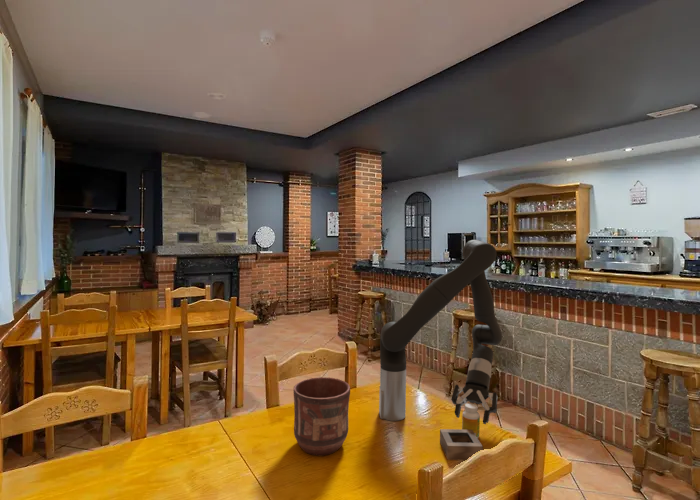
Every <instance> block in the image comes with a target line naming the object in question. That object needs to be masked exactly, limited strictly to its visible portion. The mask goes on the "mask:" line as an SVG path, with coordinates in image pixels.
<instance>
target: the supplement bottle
mask: <svg viewBox="0 0 700 500" xmlns="http://www.w3.org/2000/svg"><path fill="white" fill-rule="evenodd" d="M478 409H479V406H478V404H476V403H470V402H467V403H465V404H464V410H463V411H462V415H461V417H462V419H461V421H462V422H461V423H462V424H461V430H473V432H474V434H475V435H476V437H477V438H478V439H479V437H480V427H481V425H480V421H481V420H480V418H481V417H480V413H479V412H478Z"/></svg>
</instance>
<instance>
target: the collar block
mask: <svg viewBox="0 0 700 500" xmlns="http://www.w3.org/2000/svg"><path fill="white" fill-rule="evenodd" d="M439 444H440V445H441V447H442V450H443V452H444V454H445V456H446V459H447V460H449V461H454V460H456V461H458V460H459V461H467V460H466V459H468V458H469V457H471V456H472V455H473V454H475V453H476V452H478V451H480V450H484V449H483V444H482V443H481V442H480V440H479V437H478V438H477V437H476V435H475V434H474V432H473V430H462V429H459V428H458V429H457V428H455V429H451V428H450V429H449V428H443V429H441V428H440V429H439Z"/></svg>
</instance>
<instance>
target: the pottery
mask: <svg viewBox="0 0 700 500" xmlns="http://www.w3.org/2000/svg"><path fill="white" fill-rule="evenodd" d="M350 396H351V387H350V384H349V383H348V382H346V381H345V380H342V379H339V378H333V377H325V376H324V377H320V376H319V377H311V378H307V379H304V380H301V381H299V382H297V383H296V384H295V385H294V386H293V404H294V405H293V406H294V409H293V410H294V413H293V414H294V420H293V422H294V423H293V435H294V438H295V439H296V442H297V444H298V446H299V447H300V448H301V449H302V450H303V451H304V452H305V453H307V454H308V455H312V456H328V455H331V454H333V453H335V452H336V451H337V450H339V449H340V448H341V447H342V446H343V444H344V442H345V440H346V438H347V436H348V434H349V433H348V432H349V404H350V398H351V397H350Z"/></svg>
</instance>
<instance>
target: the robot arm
mask: <svg viewBox="0 0 700 500" xmlns="http://www.w3.org/2000/svg"><path fill="white" fill-rule="evenodd" d="M462 257H463V262H461V264H459V265H458V266H457V267H456V268H454V269H453V270H451V271H449V272H447V273H444V274H442V275H441V276H439V277H437V278H436V279H434V280H433V281H431V283H430V284H428V285H427V286H426V287H425V288H424V289H423V290H422V291H421V293H419V295H418V296H417V298H416V299H415V300H414V302H413V303H412V304H411V307H410V308H409V309H408V311H407V312H406V313H405V314H404V315H403V316H402V317H401V318H400V319H398V320H397V321H390V322H387V323H385V324H384V325H383V326H382V328H381V330H380V334H379V335H380V336H379V338H380V339H379V345H380V346H379V356H380V357H379V358H380V360H379V361H380V368H379V369H380V374H379V375H380V377H379V379H380V380H379V392H378V393H379V394H378V395H379V400H378V410H379V411H378V412H379V413H378V414H379V418H380V420H381V419H383V420H386V421H392V422H395V421H396V422H397V421H402V420H404V419H405V418H406V413H407V411H406V409H407V408H406V407H407V406H406V405H407V404H406V401H407V400H406V399H407V398H406V396H407V395H406V394H407V357H406V347H407V346H408V345H409V343H410V342H411V341H412V339H414V337H415V336H416V335H417V333H418V332H419V331H420V330H421V329H422V328H423V327H424V326H425V325H427V323H429V322H430V321H432V319H433V318H435V317H436V316H437V315H438V314H439V313H440V312H441V311H442V310H443V309H444V308H445V307H446V306H447V305H448V304H449V303H451V302H452V300H454V298H455V297H456V296H458V295H459V293H461V292H462V291H463V290H464V289H465V288H466V287H467V286H468V285H469V284H470V288H471V295H472V303H473V313H474V318H475V320H476V321H478V322H481V323H484V324H476V325H474V326H473V327H472V329H471V339H472V354H471V358H470V363H469V364H468V365H469V366H468V369H467V374H466V379H465V384H464V386H463V387H462V386H459V385H458V384H455V385H454V389H453V391H452V396H451V402H452V404H453V405H455V408H454V415H455V417H456V418H458V419H459V418H460V415H461V411H462V407H463V406H464V405H465V404H467V403H471V404H475V405H480V404H481V406H482V407H483V408H484V412H483V418H482V425H487V424H488V423H489V421H490V414H496V413H497V410H498V399H499V398H498V393H497V392H495V391H494V392H489V389H490V382H491V378H492V365H493V358H494V350H493V349H492V348H490V347H489V345H490V346H491V345H492V346H497V345H500V343H501V342H502V340H503V334H502V330H501V328H500V326H499V323H498V321H497V318H496V314H495V305H494V298H493V295H492V294H493V293H492V292H491V291H492V290H491V288H490V286H489V283H488V280H487V276H486V273H485V271H487V270H488V269H489V268H490V267H492V265H493V264H494V263H495V261H496V259H497V250H496V248H495V246H493V245H492V244H490V243H487V242H486V241H482V240H478V239H471V240H468V241H467V242H466V243H465V244H464V245H463V248H462ZM487 345H488V346H487ZM461 393H463V395H461V396H460V398H458V397H459V394H461ZM488 398H490V400H491V406H489V405H488V403H487V401H486V400H487V399H488Z"/></svg>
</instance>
